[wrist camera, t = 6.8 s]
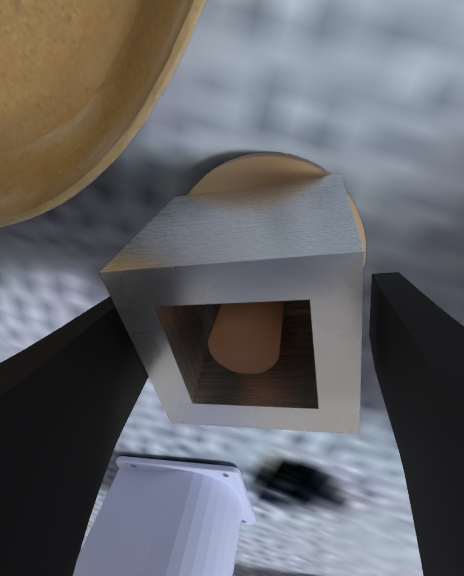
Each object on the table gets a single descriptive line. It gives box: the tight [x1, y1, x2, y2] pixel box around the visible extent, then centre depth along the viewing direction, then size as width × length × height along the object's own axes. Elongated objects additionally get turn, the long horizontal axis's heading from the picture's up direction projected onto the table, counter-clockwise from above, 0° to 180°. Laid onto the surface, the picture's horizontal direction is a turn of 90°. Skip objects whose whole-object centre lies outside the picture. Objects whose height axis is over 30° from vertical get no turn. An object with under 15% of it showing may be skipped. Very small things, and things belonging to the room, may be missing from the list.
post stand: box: [188, 152, 366, 374], centre depth 10 cm, size 7×7×6 cm
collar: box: [99, 174, 364, 434], centre depth 10 cm, size 6×6×5 cm
